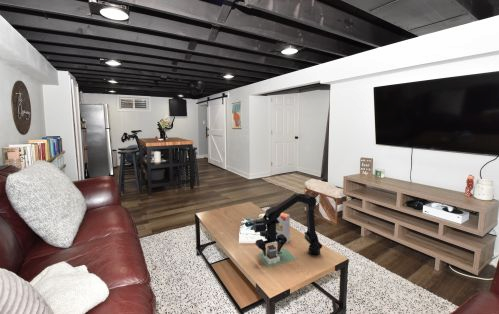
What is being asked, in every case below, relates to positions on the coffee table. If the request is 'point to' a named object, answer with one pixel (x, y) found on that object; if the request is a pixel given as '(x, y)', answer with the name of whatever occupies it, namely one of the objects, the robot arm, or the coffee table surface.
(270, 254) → the black plug
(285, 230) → the cracker box
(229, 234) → the coffee table surface
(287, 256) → the circuit board
